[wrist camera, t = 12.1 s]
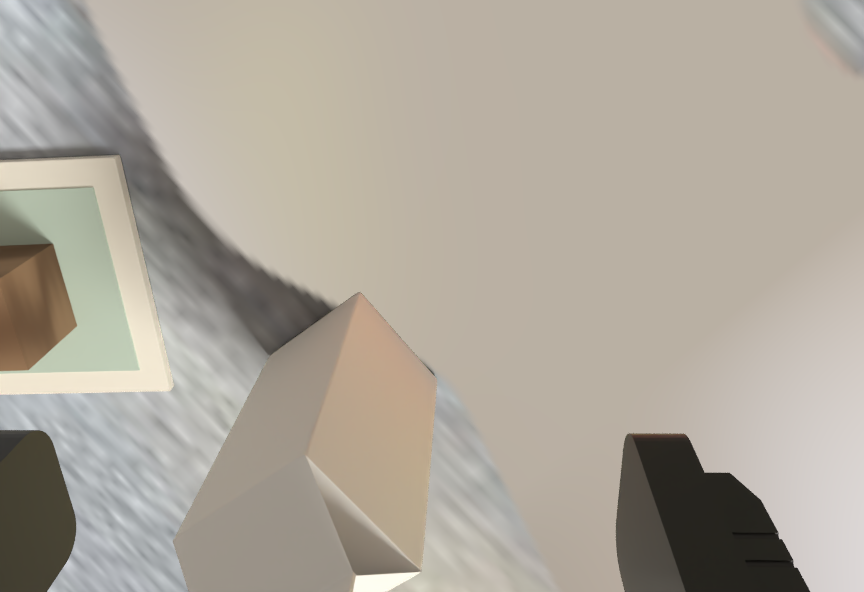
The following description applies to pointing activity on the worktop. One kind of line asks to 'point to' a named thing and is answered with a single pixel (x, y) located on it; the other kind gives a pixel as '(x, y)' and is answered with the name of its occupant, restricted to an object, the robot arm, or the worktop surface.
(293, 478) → the milk carton
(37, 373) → the coaster
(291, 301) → the worktop surface
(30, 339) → the walnut block
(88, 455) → the worktop surface
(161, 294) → the worktop surface
